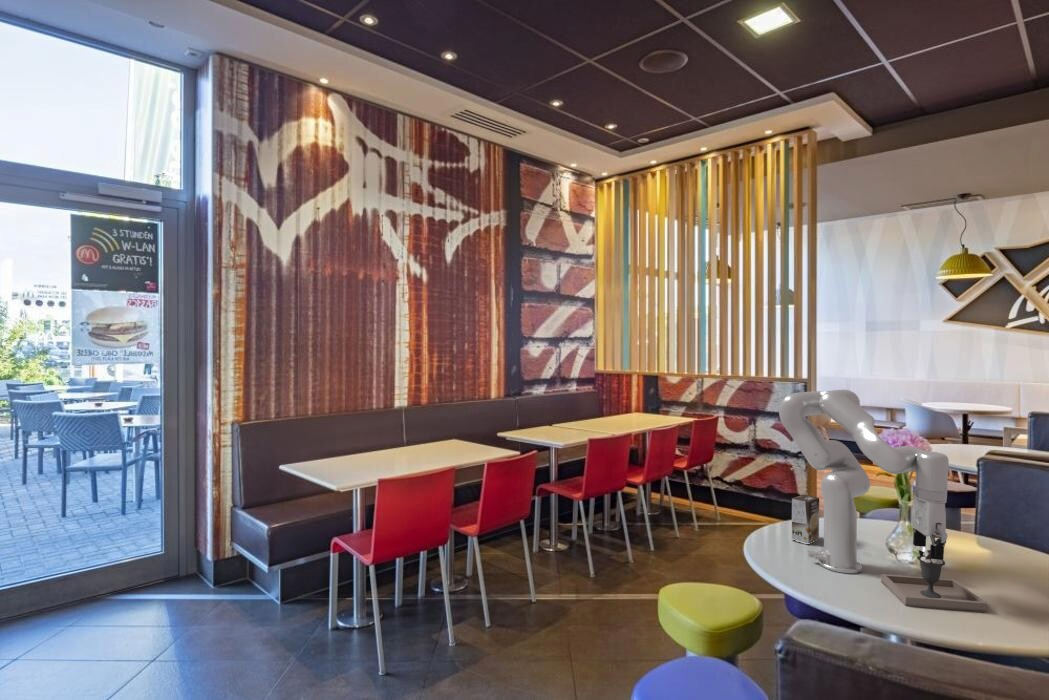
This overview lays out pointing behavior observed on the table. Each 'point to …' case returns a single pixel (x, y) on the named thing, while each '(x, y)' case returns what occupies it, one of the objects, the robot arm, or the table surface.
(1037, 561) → the table surface
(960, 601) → the tray
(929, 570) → the sundae
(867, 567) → the table surface
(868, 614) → the table surface
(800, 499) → the coffee box
